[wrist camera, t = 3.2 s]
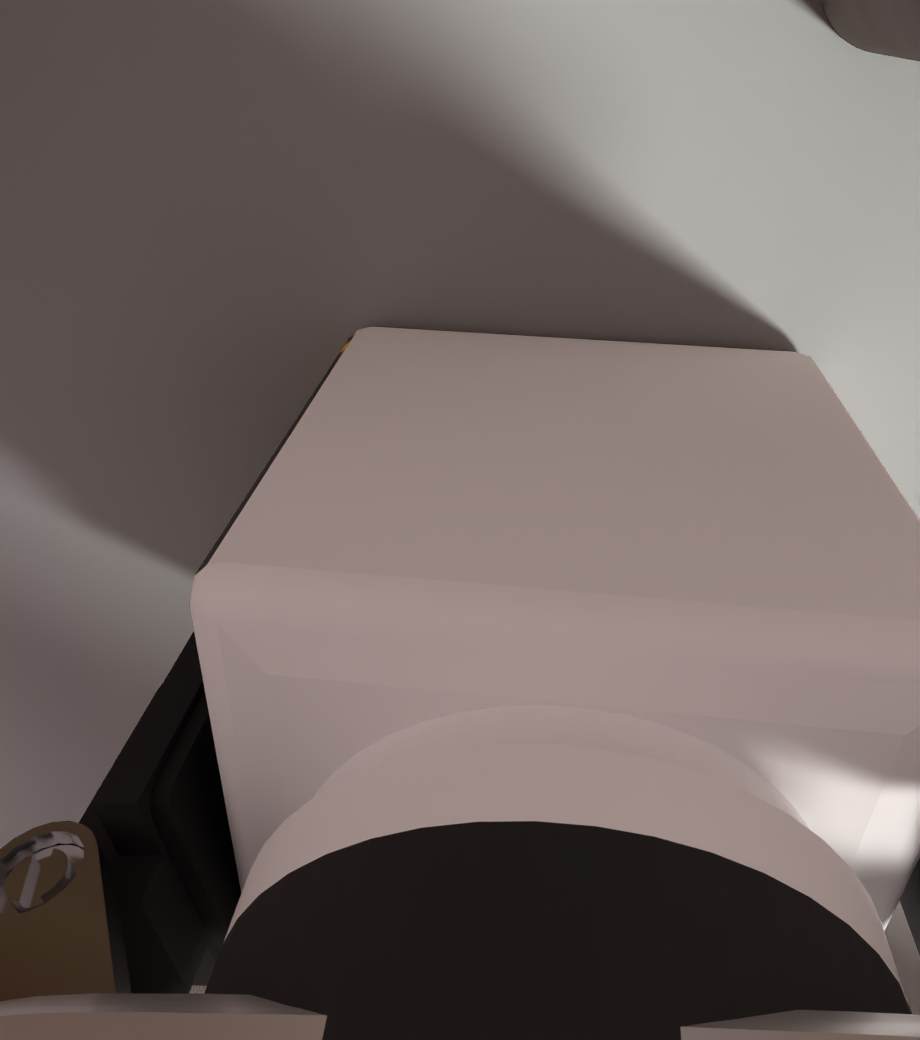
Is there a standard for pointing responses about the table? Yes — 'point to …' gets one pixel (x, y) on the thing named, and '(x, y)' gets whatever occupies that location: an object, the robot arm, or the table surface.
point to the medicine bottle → (565, 694)
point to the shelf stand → (878, 25)
